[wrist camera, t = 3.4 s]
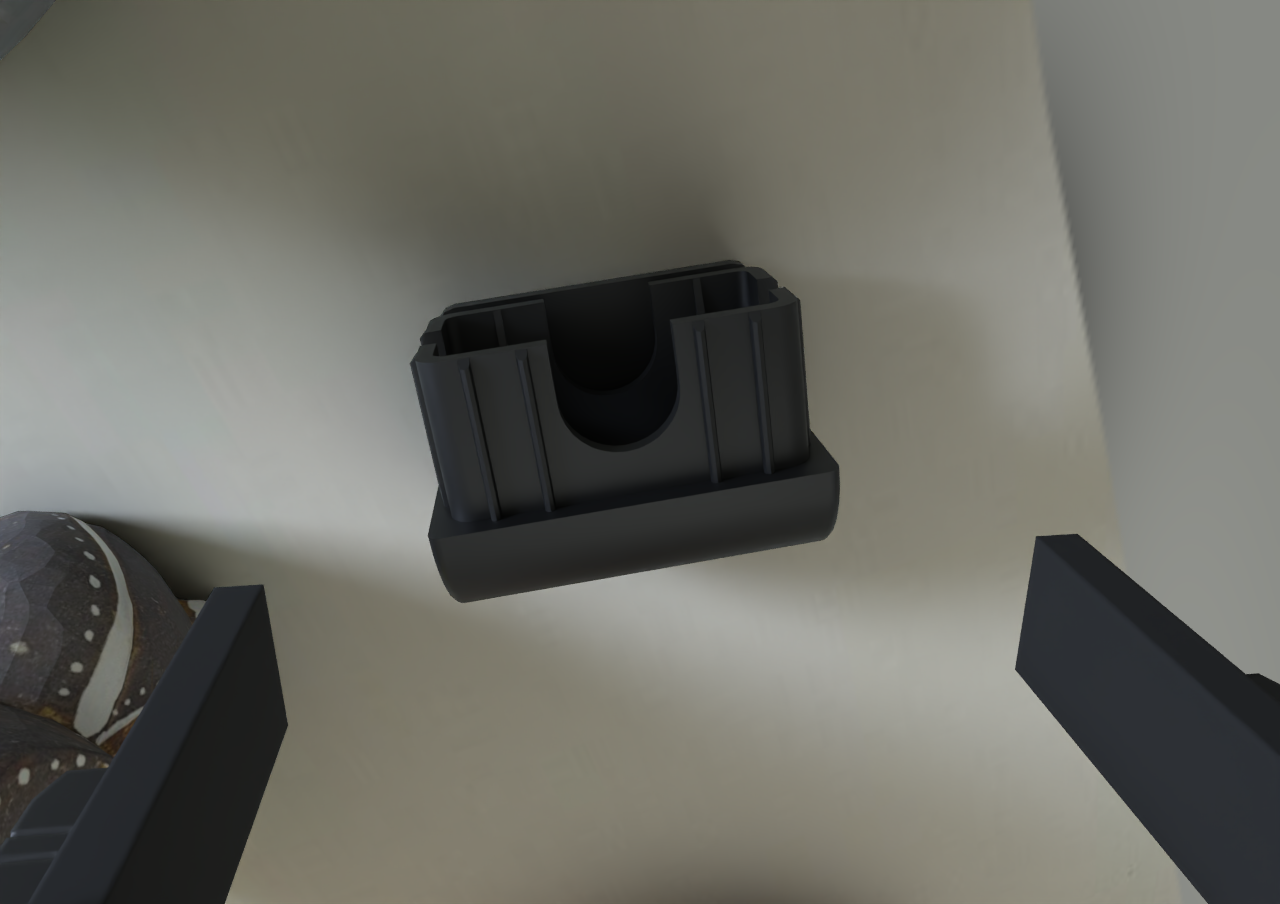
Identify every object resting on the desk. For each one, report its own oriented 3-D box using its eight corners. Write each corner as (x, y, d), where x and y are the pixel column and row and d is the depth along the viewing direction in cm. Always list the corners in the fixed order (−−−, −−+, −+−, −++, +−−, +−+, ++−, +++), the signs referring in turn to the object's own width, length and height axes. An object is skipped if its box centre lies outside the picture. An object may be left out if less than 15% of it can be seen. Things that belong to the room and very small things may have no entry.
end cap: (469, 530, 30) (453, 650, 24) (418, 308, 27) (386, 378, 21) (783, 476, 31) (849, 580, 24) (763, 253, 28) (832, 305, 22)
